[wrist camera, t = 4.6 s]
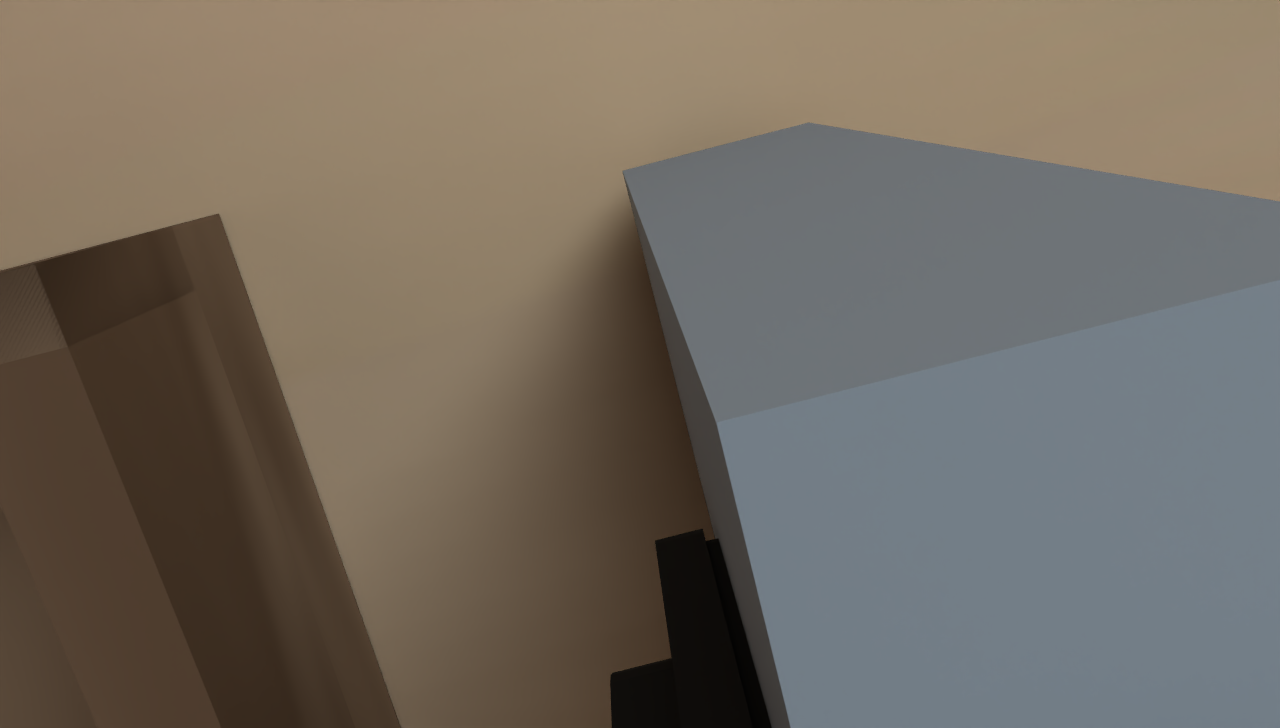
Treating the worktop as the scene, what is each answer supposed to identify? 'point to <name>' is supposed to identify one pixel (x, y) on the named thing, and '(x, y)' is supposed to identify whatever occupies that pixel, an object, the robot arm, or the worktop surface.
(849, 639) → the panel
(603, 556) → the worktop surface
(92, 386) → the rack
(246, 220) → the worktop surface
